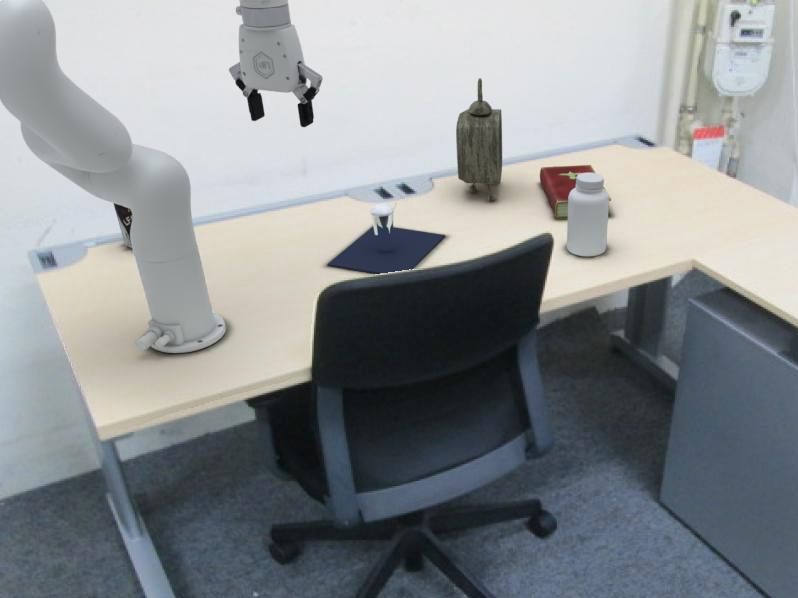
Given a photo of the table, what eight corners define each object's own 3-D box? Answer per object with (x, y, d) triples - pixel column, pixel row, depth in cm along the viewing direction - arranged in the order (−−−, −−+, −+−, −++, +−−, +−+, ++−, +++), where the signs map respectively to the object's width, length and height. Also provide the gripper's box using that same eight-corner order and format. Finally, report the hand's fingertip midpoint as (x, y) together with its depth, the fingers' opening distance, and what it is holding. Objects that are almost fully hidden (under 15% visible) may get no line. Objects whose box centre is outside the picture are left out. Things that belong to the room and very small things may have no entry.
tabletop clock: (499, 204, 199) (497, 89, 185) (458, 204, 199) (453, 88, 185) (502, 181, 211) (500, 70, 197) (464, 180, 211) (459, 70, 197)
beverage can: (125, 252, 178) (109, 194, 171) (125, 240, 182) (109, 183, 175) (156, 248, 179) (141, 190, 172) (155, 236, 184) (140, 180, 177)
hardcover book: (555, 219, 193) (555, 200, 190) (539, 183, 210) (539, 166, 207) (609, 216, 194) (611, 197, 192) (590, 181, 211) (590, 163, 209)
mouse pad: (402, 278, 169) (402, 276, 169) (327, 265, 173) (327, 263, 173) (445, 236, 185) (445, 234, 185) (375, 226, 189) (375, 224, 189)
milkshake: (396, 255, 177) (392, 206, 171) (370, 252, 177) (365, 204, 172) (404, 245, 180) (400, 198, 175) (378, 243, 181) (374, 195, 175)
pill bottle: (614, 248, 181) (618, 176, 172) (588, 261, 176) (591, 187, 167) (584, 237, 185) (587, 166, 177) (558, 249, 180) (560, 177, 172)
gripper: (206, 16, 145) (226, 122, 155) (300, 25, 141) (315, 134, 151) (233, 7, 151) (251, 110, 161) (325, 15, 147) (337, 120, 156)
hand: (282, 121), depth 156 cm, fingers open, 9 cm apart
